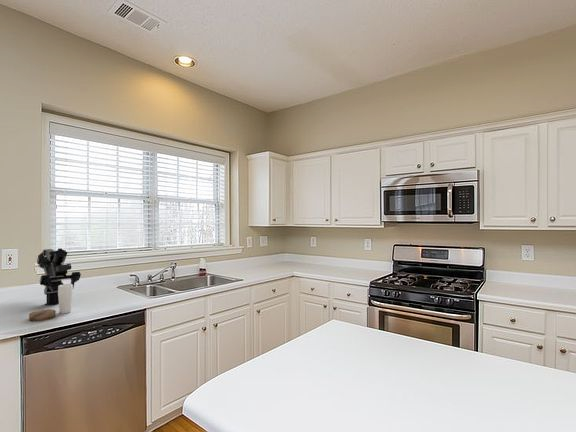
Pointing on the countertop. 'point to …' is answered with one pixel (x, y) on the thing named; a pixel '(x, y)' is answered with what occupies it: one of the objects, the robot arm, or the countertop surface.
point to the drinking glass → (65, 298)
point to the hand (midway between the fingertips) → (63, 290)
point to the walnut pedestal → (42, 315)
